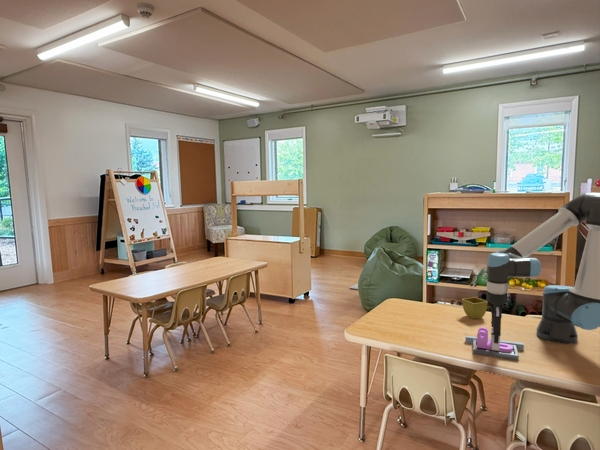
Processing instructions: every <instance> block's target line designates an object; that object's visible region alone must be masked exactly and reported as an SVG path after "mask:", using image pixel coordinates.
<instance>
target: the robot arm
mask: <svg viewBox="0 0 600 450" xmlns="http://www.w3.org/2000/svg"><path fill="white" fill-rule="evenodd" d="M584 222H585V226H586V227H587V228H588V233H587V235H586V240H585V244H584V246H583V247H584V248H583V251H582V256H581V260H580V263H579V267H578V271H577V275H576V278H575V283H574V286H569V285H568V286H567V285H561V284H560V285H559V284H557V285H556V284H554V285H545V286H544V288H543V292H542V309H541V310H542V313H541V319H540V321H539V323H538V325H537V327H536V336H538V337H539V338H541V339H543V340H545V341H548V342H552V343H556V344H563V345H565V344H566V345H570V344H571V345H572V344H575V343H578V337H579V336H578V333H577V329H576V328H580V329H582V330H587V331H594V330H596V329H598V328H600V192H597V191H593V192H592V191H590V192H587V193H582V194H580V195H579V196H576V197H575V198H573V199H571V200H570V201H568V202H567V203H565V204H564V205H562V206H561V207H559V208H558V211H557V213H555V214H554V215H553V216H551V217H550V218H549V219H547V220H546V221H544V222H542V224H540V225H538V226H537V227H535V228H534V229H533V230H532V231H531V232H529V233H528V234H526V235H524V236H523V237H522V238H521V239H519V240H517V241H516V242H515V243H514V244H512V245H510V246H509V247H507V249H504V250H503V249H501V250H500V249H499V250H497V251H495V252H492V253H490V254H488V257H487V273H486V274H487V278H486V290H487V291H486V301H487V302H489V303H491V304H490V309H491V310H490V312H491V313H490V314H491V322H490V323H491V331H490V339H491V341H492V350H496V351H500V340H501V337H502V336H501V335H502V333H501V329H502V313H503V305H504V304H506V303H508V300H509V299H508V297H509V293H508V291H509V290H508V289H509V288H510V284H509V278H534V277H535V278H536V277H538V276H539V275H540V274H541V272H542V263H541V262H540V260H539V259H538V258H536V257H530V256H531V255H533V254H534V253H536V252H538V250H540V249H541V248H543V247H544V246H546V245H547V244H549V243H550V242H551V241H552V240H554V239H555V238H557V237H558V236H560V235H561V234H562V233H563V234H564V232H565V231H567V230H568V229H570V228H571V227H577V226H579V225H580V224H582V223H584ZM502 304H503V305H502Z"/></svg>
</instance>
